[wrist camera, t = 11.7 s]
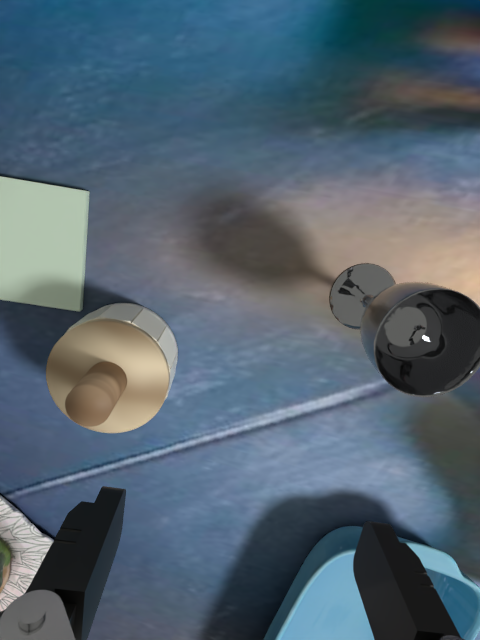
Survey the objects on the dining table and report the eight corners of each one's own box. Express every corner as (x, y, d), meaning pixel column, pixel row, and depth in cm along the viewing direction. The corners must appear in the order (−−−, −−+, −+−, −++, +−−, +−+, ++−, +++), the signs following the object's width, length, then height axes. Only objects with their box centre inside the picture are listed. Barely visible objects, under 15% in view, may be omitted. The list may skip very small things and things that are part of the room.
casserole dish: (325, 480, 48) (340, 525, 42) (483, 530, 51) (522, 581, 44) (221, 682, 58) (220, 746, 51) (359, 716, 60) (376, 782, 53)
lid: (53, 309, 36) (17, 330, 30) (176, 328, 36) (165, 352, 30) (49, 418, 39) (16, 456, 33) (162, 433, 39) (150, 474, 33)
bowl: (78, 295, 41) (53, 309, 36) (183, 311, 42) (175, 328, 36) (73, 390, 44) (49, 418, 39) (171, 404, 45) (162, 433, 39)
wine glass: (317, 274, 41) (362, 310, 27) (392, 248, 41) (479, 272, 26) (336, 342, 43) (388, 411, 29) (408, 319, 43) (497, 377, 28)
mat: (-38, 169, 38) (-44, 168, 37) (89, 191, 39) (86, 191, 38) (-35, 291, 41) (-40, 293, 40) (82, 309, 42) (79, 311, 41)
